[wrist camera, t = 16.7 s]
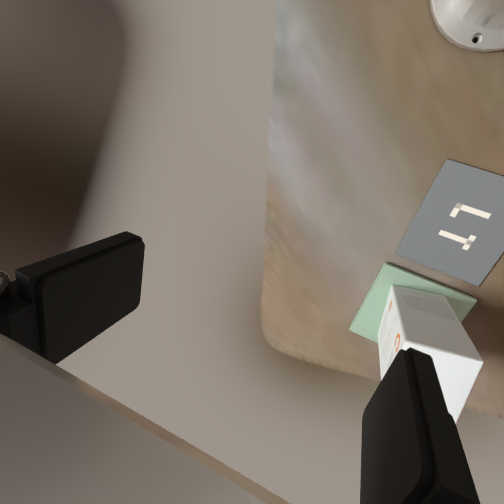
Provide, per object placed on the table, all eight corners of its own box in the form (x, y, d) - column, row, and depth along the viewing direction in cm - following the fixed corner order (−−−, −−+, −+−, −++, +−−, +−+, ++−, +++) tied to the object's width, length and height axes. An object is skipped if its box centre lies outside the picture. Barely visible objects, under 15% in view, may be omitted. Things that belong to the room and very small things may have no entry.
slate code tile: (446, 158, 32) (446, 158, 32) (546, 189, 30) (548, 190, 30) (394, 253, 37) (394, 253, 37) (478, 285, 35) (478, 286, 35)
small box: (427, 348, 39) (454, 432, 27) (376, 335, 40) (381, 408, 29) (447, 294, 36) (486, 362, 24) (391, 282, 38) (403, 340, 26)
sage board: (385, 261, 38) (385, 263, 37) (475, 297, 36) (477, 300, 35) (349, 327, 42) (349, 330, 42) (427, 362, 40) (428, 366, 39)
